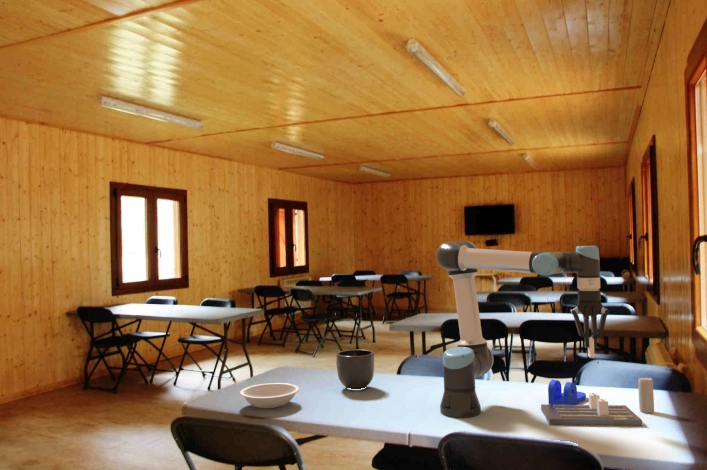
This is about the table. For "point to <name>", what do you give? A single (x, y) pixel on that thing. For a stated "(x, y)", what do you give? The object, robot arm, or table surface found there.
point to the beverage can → (646, 395)
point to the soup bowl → (269, 394)
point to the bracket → (564, 394)
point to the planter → (355, 368)
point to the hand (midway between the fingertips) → (591, 356)
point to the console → (590, 415)
